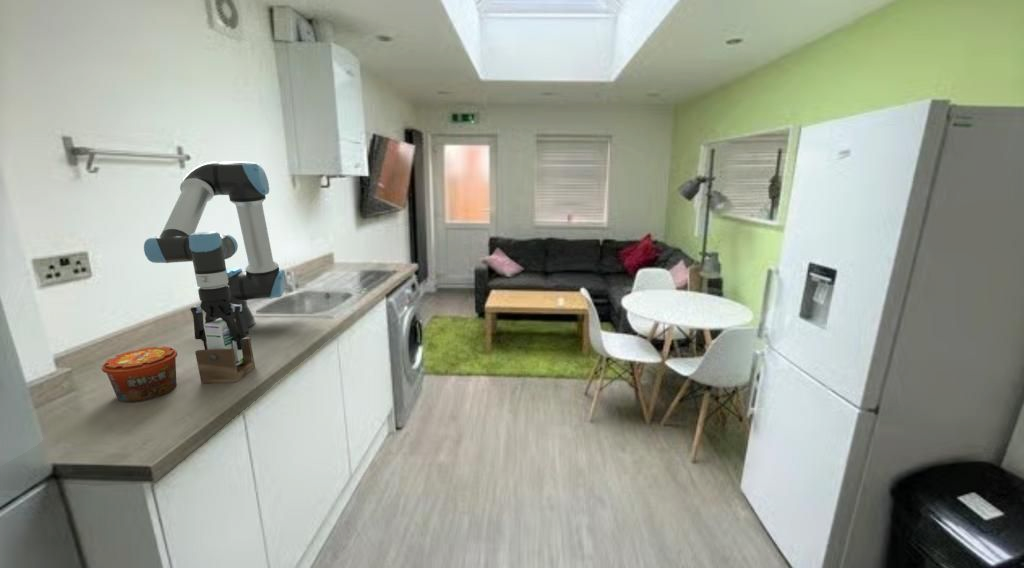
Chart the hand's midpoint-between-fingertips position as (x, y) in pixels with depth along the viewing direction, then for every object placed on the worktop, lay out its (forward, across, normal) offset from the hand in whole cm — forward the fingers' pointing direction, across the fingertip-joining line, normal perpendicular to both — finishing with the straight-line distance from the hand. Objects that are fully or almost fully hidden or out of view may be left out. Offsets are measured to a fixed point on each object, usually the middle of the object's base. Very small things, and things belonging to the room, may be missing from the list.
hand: (226, 359), depth 130 cm
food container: (+5, -17, -9) cm, 20 cm away
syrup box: (+2, 0, 0) cm, 2 cm away
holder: (+5, 0, 0) cm, 5 cm away
